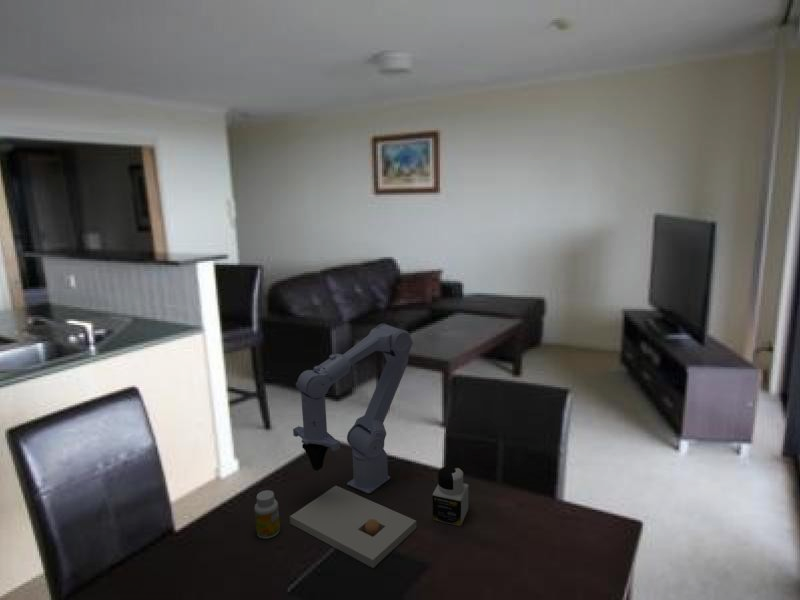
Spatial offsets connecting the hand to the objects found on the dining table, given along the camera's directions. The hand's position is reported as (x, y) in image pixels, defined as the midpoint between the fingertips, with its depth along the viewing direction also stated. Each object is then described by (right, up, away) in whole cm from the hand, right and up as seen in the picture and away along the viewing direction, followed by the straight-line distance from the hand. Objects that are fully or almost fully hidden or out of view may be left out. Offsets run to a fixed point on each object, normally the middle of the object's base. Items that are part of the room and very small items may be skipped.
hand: (317, 468), depth 130 cm
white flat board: (+9, -11, -7) cm, 16 cm away
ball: (+14, -10, -11) cm, 21 cm away
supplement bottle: (-10, -12, -8) cm, 18 cm away
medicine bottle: (+33, -10, -4) cm, 35 cm away
